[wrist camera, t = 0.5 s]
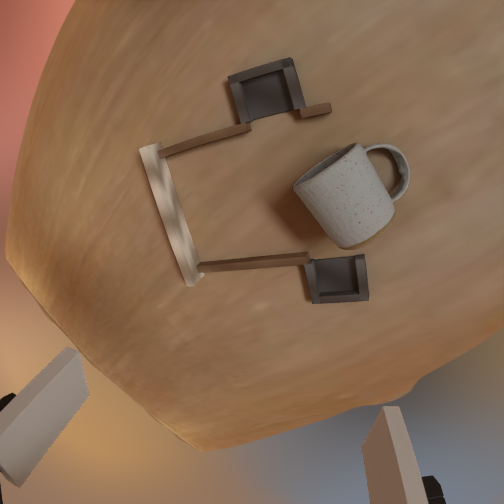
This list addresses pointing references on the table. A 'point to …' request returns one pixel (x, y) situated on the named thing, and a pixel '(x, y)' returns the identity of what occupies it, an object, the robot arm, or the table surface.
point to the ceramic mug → (351, 195)
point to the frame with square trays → (249, 108)
